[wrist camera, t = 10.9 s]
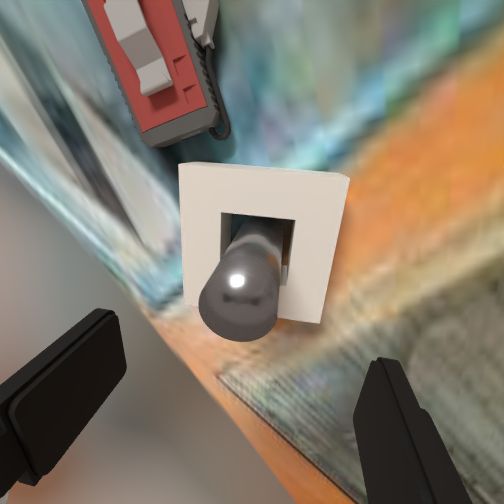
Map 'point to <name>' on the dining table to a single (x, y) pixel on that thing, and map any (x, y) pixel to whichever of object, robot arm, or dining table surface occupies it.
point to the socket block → (267, 205)
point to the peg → (245, 283)
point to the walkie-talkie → (163, 65)
